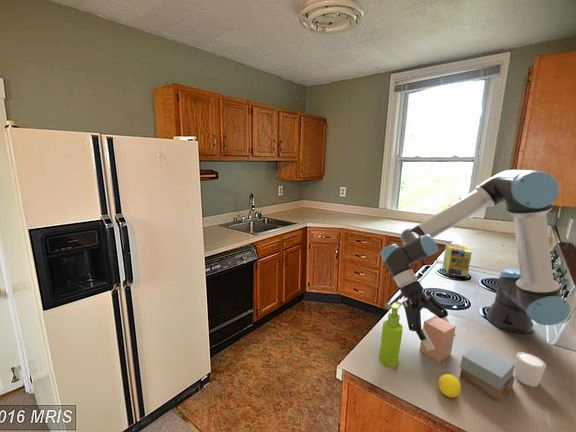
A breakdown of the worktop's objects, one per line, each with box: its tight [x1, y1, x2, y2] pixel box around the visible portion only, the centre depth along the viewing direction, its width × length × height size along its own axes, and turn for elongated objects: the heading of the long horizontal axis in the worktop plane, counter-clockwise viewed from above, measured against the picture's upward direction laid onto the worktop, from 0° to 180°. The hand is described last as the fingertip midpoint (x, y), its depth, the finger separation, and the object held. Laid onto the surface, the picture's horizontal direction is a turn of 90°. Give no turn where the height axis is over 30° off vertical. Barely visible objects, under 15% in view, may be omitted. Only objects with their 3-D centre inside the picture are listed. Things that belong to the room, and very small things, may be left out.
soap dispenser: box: [378, 301, 404, 369], centre depth 89 cm, size 6×7×20 cm
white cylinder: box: [514, 351, 547, 388], centre depth 84 cm, size 7×7×7 cm
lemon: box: [438, 373, 462, 398], centre depth 78 cm, size 7×5×5 cm
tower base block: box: [459, 368, 516, 402], centre depth 83 cm, size 10×10×4 cm
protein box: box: [442, 242, 472, 278], centre depth 168 cm, size 10×15×16 cm
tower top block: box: [460, 344, 516, 390], centre depth 82 cm, size 10×10×4 cm
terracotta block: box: [419, 315, 457, 363], centre depth 95 cm, size 7×7×11 cm
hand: (442, 343), depth 93 cm, fingers open, 13 cm apart
